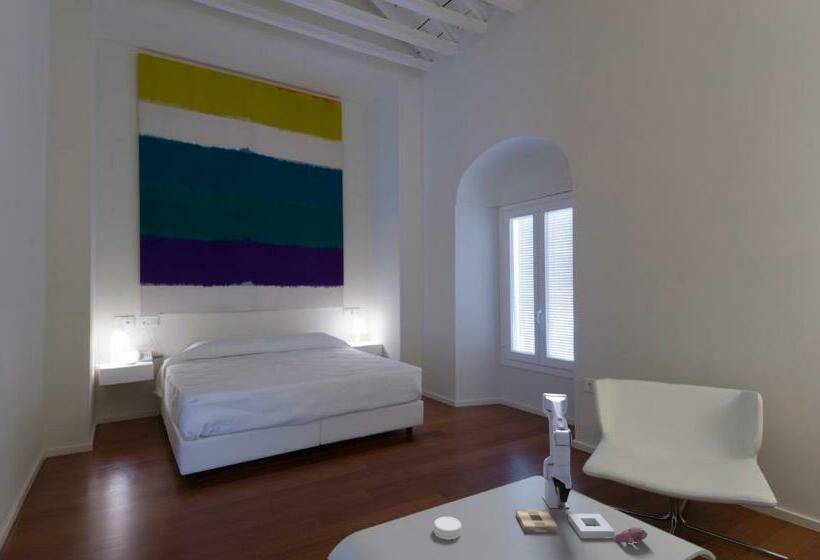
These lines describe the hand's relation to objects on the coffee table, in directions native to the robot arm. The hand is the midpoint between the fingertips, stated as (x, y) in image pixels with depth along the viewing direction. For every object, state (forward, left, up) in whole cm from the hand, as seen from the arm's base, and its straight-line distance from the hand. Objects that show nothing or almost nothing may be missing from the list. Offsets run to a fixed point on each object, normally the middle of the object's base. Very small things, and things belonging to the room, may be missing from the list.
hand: (561, 499), depth 163 cm
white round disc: (+4, -43, -10) cm, 44 cm away
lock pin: (0, 0, -3) cm, 3 cm away
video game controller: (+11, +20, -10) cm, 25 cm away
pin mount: (-2, -9, -10) cm, 13 cm away
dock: (+2, +10, -10) cm, 14 cm away
